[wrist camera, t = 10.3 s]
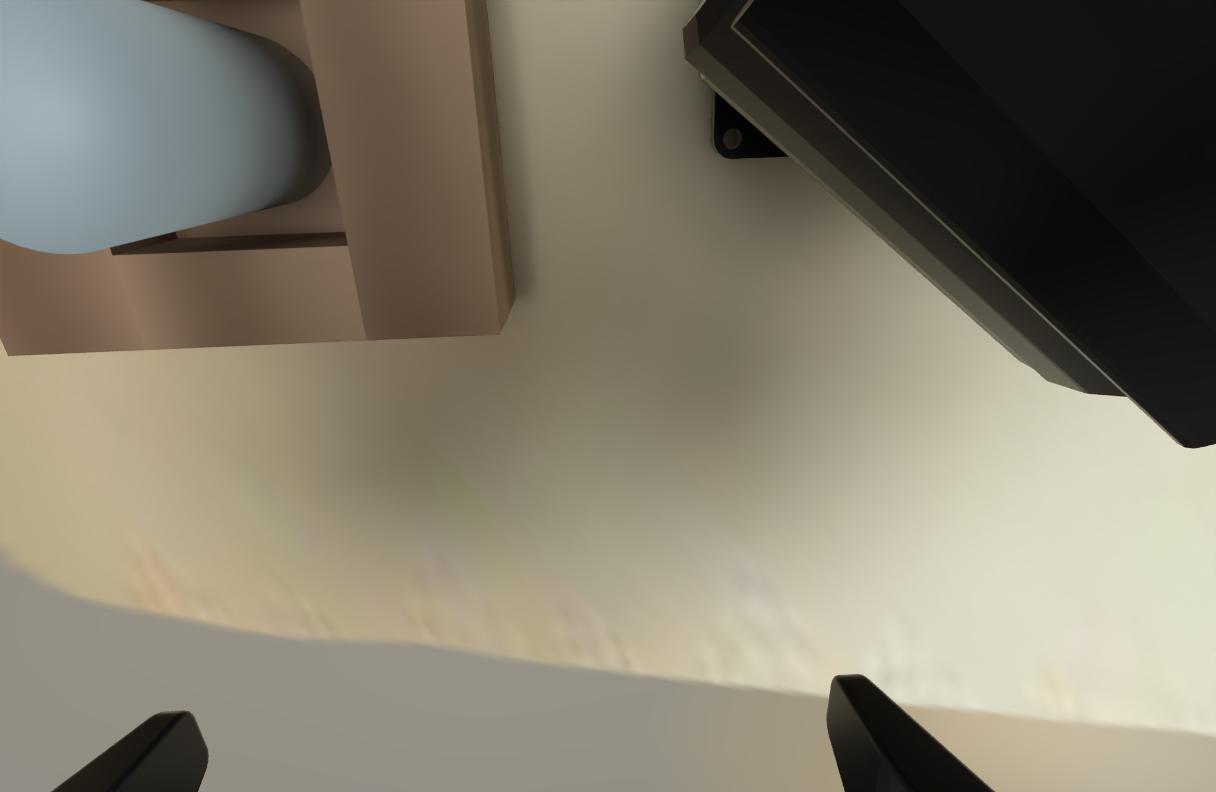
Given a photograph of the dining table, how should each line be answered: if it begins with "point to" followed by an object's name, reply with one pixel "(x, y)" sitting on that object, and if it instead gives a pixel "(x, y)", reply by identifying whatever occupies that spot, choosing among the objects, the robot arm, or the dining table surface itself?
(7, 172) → the pin
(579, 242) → the dining table surface
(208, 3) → the socket block
